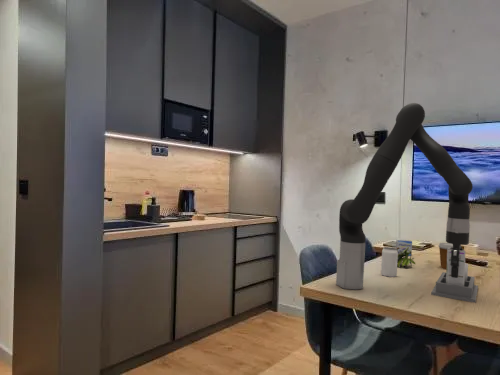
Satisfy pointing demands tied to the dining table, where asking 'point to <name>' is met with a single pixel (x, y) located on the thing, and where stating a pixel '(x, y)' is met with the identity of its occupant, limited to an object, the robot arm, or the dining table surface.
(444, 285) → the housing
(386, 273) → the can
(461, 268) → the syrup box
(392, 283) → the dining table surface
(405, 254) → the passion flower
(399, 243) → the medicine box
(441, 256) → the disposable coffee cup
